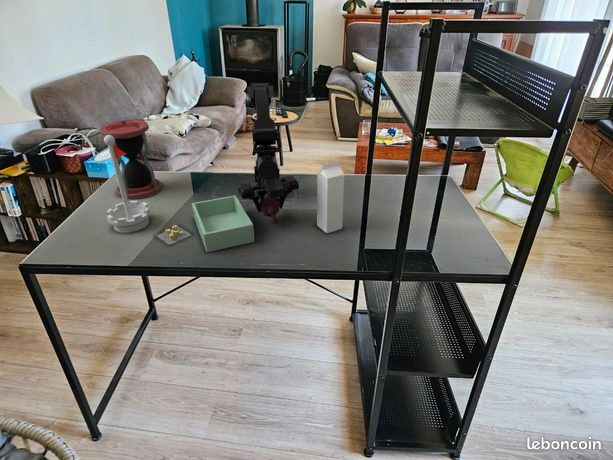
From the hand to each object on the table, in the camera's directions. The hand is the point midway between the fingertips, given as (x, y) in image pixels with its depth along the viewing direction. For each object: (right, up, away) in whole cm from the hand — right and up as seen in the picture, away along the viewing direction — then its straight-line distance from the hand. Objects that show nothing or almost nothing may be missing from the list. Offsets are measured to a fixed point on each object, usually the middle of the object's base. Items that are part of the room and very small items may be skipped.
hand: (270, 210), depth 134 cm
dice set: (-30, -8, -6) cm, 31 cm away
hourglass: (-52, +9, +24) cm, 58 cm away
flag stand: (-46, -5, +1) cm, 46 cm away
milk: (+19, -6, -2) cm, 20 cm away
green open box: (-15, -6, -3) cm, 16 cm away
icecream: (0, -1, +1) cm, 2 cm away
